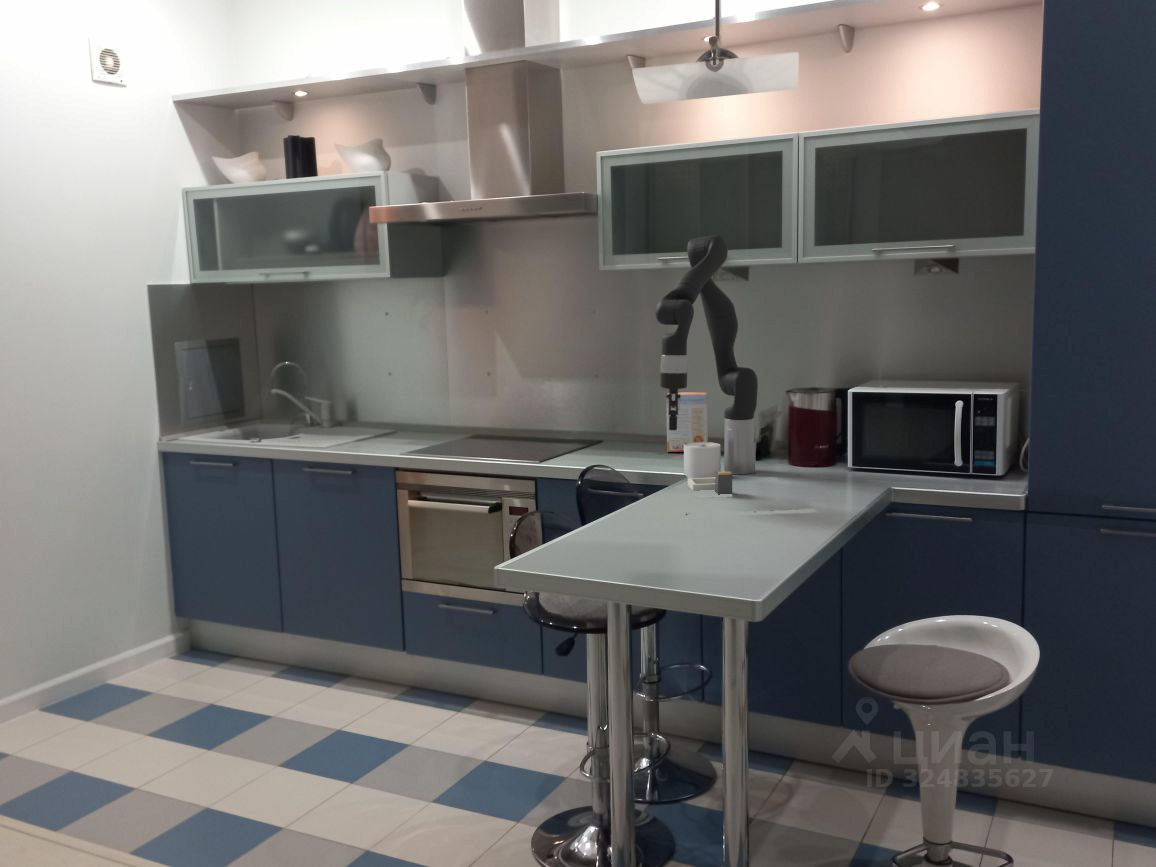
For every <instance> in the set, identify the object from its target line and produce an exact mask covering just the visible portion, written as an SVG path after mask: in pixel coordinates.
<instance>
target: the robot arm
mask: <svg viewBox="0 0 1156 867" xmlns="http://www.w3.org/2000/svg"><path fill="white" fill-rule="evenodd" d="M728 249H729V248H728V245H727V242H726V240H725V238H724V237H723V236H721V235H719V234H713V235H706V236H700V237H696V238H692V239H690V240H688V243H687V247H686V250H687V251H686V252H687V257H688V258H687V259H688V262H689V265H690V269H688V270H687V271H686V272H685V273H684V274H682V275H681V277H680V278H679V279H678V281H677V282H676V284H675V287H674V288H673V289H672V290H671V291H669V292H668V293H667V294H666V295H664V296H663V297H662V298H661V299H660V300H659V301H658V302H657V305H656V307H655V319H656V320H657V322H658V323H660V324H661V325H665V326H666V325H667V326H677V328H676V330H675V331H674V332H671V333H666V334H663V336H662V337H661V358H660V372H659V373H660V376H659V377H660V378H659V379H660V381H659V384H660V388H661V389H665V390H666V389H667V390H668V393H669V394H668V393H667V394H666V395H667V396H665V397H666V400H665V401H666V411H667V410H669V412H668V415H669V430H677V417H678V410H679V406H680V396H681V395H680V394H678V392H679V390H680V389H681V390H682V389H687V387H688V357H687V353H688V352H687V350H688V346H687V345H688V337H689V332H690V329H691V324H692V322H693V319H694V314H695V313H694V311H695V309H694V306H693V305H694V303H695V302H696V300H697V299H698V297H699V295H700V299H701V303H702V308H703V312H704V317H705V322H706V326H707V329H708V332H709V335H710V340H711V346H712V349H713V354H714V358H715V360H714V361H715V367H716V374H717V380H718V384H719V388H720V390H721V391H722V393H723V394H725V395H727V396H731V397H733V404H732V405H731V406H730V407H727V408H725V409H724V412H723V413H724V414H723V415H724V416H723V417H724V420H723V421H724V423H723V424H724V426H723V427H724V432H723V433H724V435H723V436H724V437H723V438H724V440H723V442H724V444H723V445H724V446H723V448H724V449H723V450H724V452H723V453H724V454H723V456H724V458H723V460H724V461H723V462H724V463H723V467H724V470H723V472H724V471H725V472H731V474H732V475H748V474H755V473H756V451H757V450H756V448H757V446H756V442H755V439H754V438H755V435H754V434H755V432H754V430H755V412H756V409H757V405H758V403H757V402H758V375H757V373H756V372H755V370H754V369H751V368H749V367H741V366H738V365H737V361H736V355H735V352H734V350H735V347H734V346H735V343H736V342H735V341H736V338H737V335H738V331H739V322H738V317H737V313H736V309H735V305H734V304H733V302H732V300H731V299H730V298H729V297H728V295H726V293H725V292H724V291H722V289H721V288H720V287H719V286H718V285H717V284H716V283H715V282H714V279H713V278H712V277H713V276H714V275H715V274H716V273H717V271H718V270H719V269H720V268H721V267H722V266H723V265H724V264H725V262H726V260H727V258H728Z"/></svg>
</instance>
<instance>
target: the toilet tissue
mask: <svg viewBox="0 0 1156 867" xmlns="http://www.w3.org/2000/svg"><path fill="white" fill-rule="evenodd" d="M721 467H722V464H721V444H720V443H716V442H709V441H708V442H698V443H690V444H687V445H686V446H685V445H684V453H683V474H684V475H685V476H686V478H687V479H688V478H710V477H715V472H722V470H721Z"/></svg>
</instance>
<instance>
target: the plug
mask: <svg viewBox="0 0 1156 867" xmlns="http://www.w3.org/2000/svg"><path fill="white" fill-rule="evenodd" d="M715 492H716V493H717V494H718V495H720V494H733V474H731V472H724V471H721V472H715Z"/></svg>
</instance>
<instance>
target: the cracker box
mask: <svg viewBox="0 0 1156 867" xmlns="http://www.w3.org/2000/svg"><path fill="white" fill-rule="evenodd" d="M667 394H669V392H667ZM667 394H666V396H665V397H667ZM678 394H680V395H681V396H680V406H679V410H678V417H677V430H669V415H668V412H669V410H667V409H666V448H667V450H666V452H684V445H685V446H686V445H687V444H690V443H698V442H709V441H708V440H709V438H708V437H709V436H708V434H709V433H708V431H709V430H708V428H709V427H708V426H709V425H708V392H707V391H705V392H704V391H703V392H702V391H700V392H699V391H698V392H695V391H693V392H692V391H691V392H687V391H684V392H680V391H678Z"/></svg>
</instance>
